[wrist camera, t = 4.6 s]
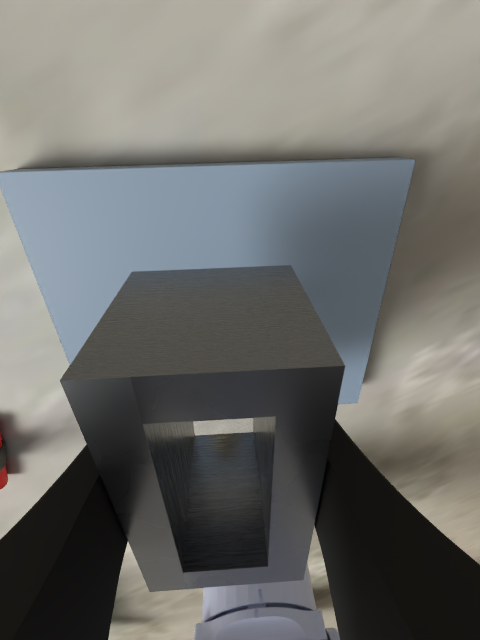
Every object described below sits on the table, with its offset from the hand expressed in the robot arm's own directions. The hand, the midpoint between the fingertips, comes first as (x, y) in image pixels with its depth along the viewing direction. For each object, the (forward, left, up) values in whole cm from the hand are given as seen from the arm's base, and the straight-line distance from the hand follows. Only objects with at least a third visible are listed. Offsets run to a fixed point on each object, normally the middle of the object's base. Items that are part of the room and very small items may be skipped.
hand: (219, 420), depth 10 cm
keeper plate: (0, 0, -8) cm, 8 cm away
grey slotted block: (0, 0, -2) cm, 2 cm away
